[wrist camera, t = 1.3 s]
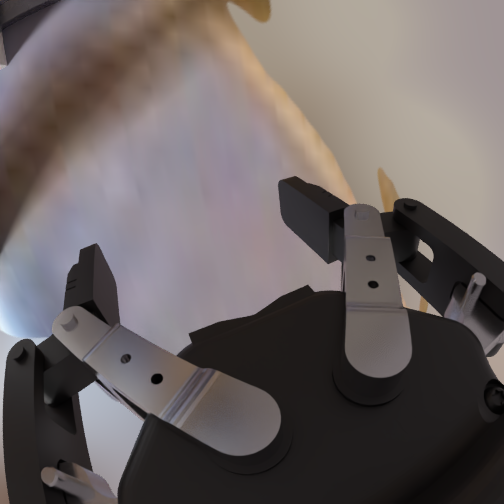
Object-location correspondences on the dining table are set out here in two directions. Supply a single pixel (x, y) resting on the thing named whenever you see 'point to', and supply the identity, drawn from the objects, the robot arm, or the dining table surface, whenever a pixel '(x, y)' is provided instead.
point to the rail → (20, 10)
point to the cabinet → (2, 52)
